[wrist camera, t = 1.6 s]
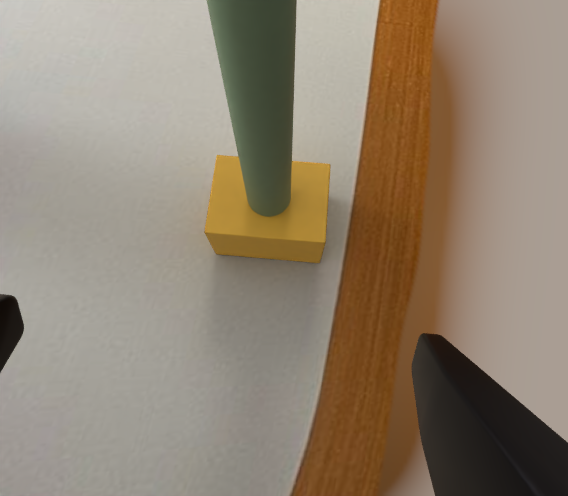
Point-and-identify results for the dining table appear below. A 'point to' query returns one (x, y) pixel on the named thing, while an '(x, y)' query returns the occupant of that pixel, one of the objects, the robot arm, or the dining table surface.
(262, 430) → the dining table surface
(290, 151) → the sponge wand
